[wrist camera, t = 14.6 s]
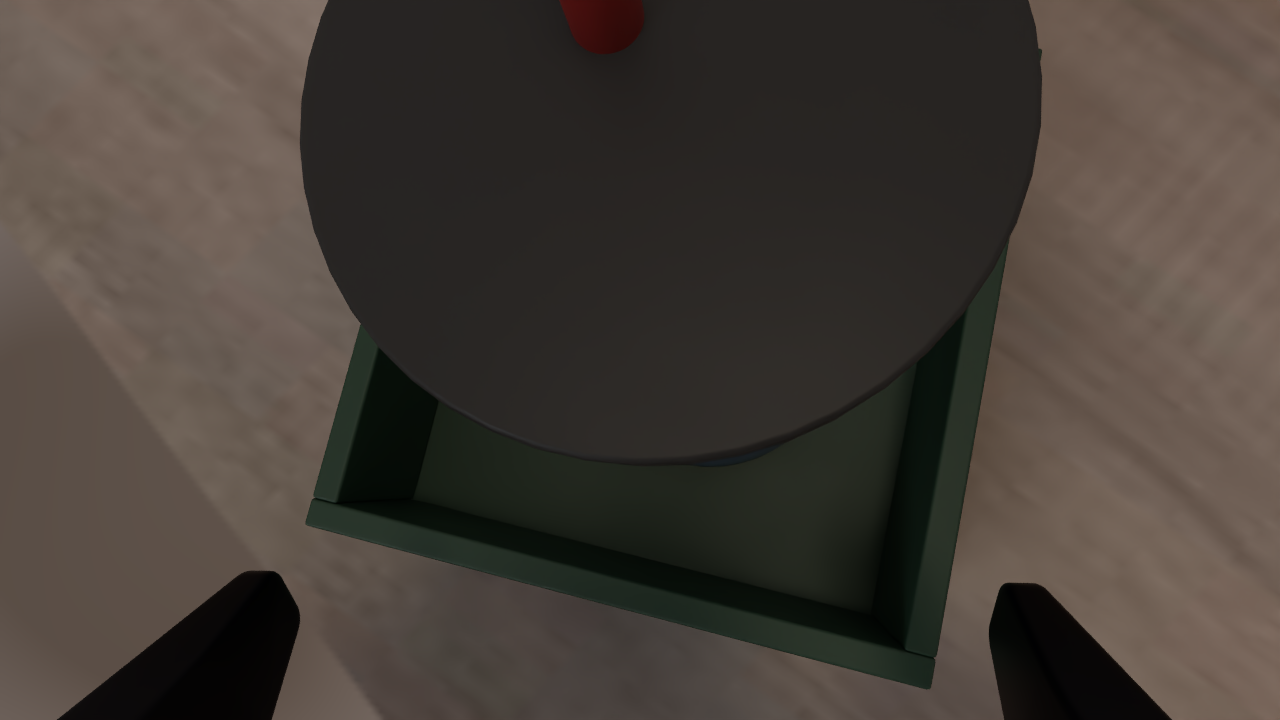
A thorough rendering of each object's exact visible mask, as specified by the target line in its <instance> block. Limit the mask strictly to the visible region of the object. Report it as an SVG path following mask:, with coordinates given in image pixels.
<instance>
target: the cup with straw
mask: <svg viewBox="0 0 1280 720" xmlns="http://www.w3.org/2000/svg"><path fill="white" fill-rule="evenodd" d="M1041 94H1042V74H1041V66H1040V58H1039V50H1038V42H1037V34H1036V26H1035V23H1034V19H1033V15H1032V12H1031V8H1030V5H1029V1H1028V0H328V3H327V5H326V7H325V10H324V12H323V14H322V16H321V19H320V23H319V26H318V29H317V33H316V36H315V39H314V43H313V46H312V49H311V53H310V56H309V60H308V66H307V72H306V78H305V84H304V90H303V96H302V103H301V130H300V150H301V161H302V171H303V182H304V189H305V194H306V198H307V202H308V207H309V211H310V215H311V220H312V224H313V228H314V231H315V234H316V237H317V239H318V242H319V244H320V247H321V250H322V252H323V255H324V258H325V260H326V263H327V265H328V268H329V271H330V273H331V275H332V277H333V278H334V280H335V282H336V284H337V286H338V288H339V289H340V291H341V293H342V295H343V297H344V298H345V300H346V302H347V304H348V306H349V307H350V309H351V311H352V313H353V314H354V315H355V317H356V318H357V319H358V320H359V322H360V323H361V324H362V326H363V327H364V328H365V330H366V331H367V332H368V334H369V335H370V336H371V338H372V339H373V340H374V342H375V343H376V344H377V346H378V347H379V348H380V349H381V350H382V351H383V352H384V353H385V354H386V355H387V356H388V357H389V358H390V359H391V360H392V361H393V362H394V363H395V364H396V365H397V366H398V367H399V368H400V369H401V370H402V371H403V372H404V373H405V374H406V375H407V376H408V377H409V378H410V379H411V380H412V381H413V382H415V383H416V384H417V385H419V386H420V387H421V388H423V389H424V390H425V391H427V392H428V393H429V394H431V395H432V396H433V397H435V398H436V399H437V400H439V401H440V402H441V403H443V404H444V405H445V406H447V407H448V408H449V409H451V410H453V411H455V412H457V413H458V414H460V415H462V416H464V417H466V418H467V419H469V420H471V421H473V422H475V423H477V424H478V425H480V426H482V427H484V428H486V429H487V430H489V431H491V432H494V433H496V434H499V435H501V436H504V437H507V438H509V439H512V440H514V441H517V442H520V443H522V444H525V445H527V446H530V447H533V448H535V449H539V450H543V451H547V452H551V453H556V454H560V455H564V456H568V457H573V458H577V459H581V460H585V461H593V462H603V463H614V464H624V465H634V466H667V465H692V466H702V467H719V466H729V465H735V464H740V463H744V462H747V461H750V460H753V459H756V458H758V457H761V456H763V455H765V454H767V453H769V452H771V451H773V450H775V449H776V448H778V447H779V446H781V445H782V444H784V443H786V442H789V441H791V440H793V439H795V438H797V437H800V436H802V435H804V434H806V433H808V432H810V431H813V430H815V429H817V428H819V427H821V426H823V425H826V424H828V423H830V422H832V421H834V420H836V419H838V418H839V417H841V416H842V415H844V414H845V413H847V412H849V411H850V410H852V409H853V408H855V407H856V406H858V405H860V404H861V403H863V402H864V401H866V400H868V399H869V398H871V397H872V396H874V395H875V394H877V393H879V392H880V391H882V390H883V389H885V388H886V387H888V386H889V385H890V384H891V383H892V382H894V381H895V380H896V379H897V378H898V377H900V376H901V375H902V374H903V373H904V372H905V371H907V370H908V369H909V368H910V367H911V366H913V365H914V364H915V363H916V362H917V361H919V360H920V359H921V358H922V357H923V356H925V355H926V354H927V353H928V352H929V351H930V350H931V349H932V348H933V347H934V345H935V344H936V343H937V342H938V341H939V340H940V339H941V338H942V337H943V336H944V334H945V333H946V332H947V331H948V330H949V329H950V328H951V327H952V326H953V325H954V323H955V322H956V321H957V320H958V319H959V318H960V317H961V316H962V315H963V313H964V312H965V311H966V309H967V308H968V306H969V305H970V303H971V302H972V300H973V299H974V297H975V296H976V295H977V293H978V292H979V290H980V289H981V287H982V286H983V284H984V283H985V281H986V280H987V278H988V277H989V276H990V274H991V273H992V271H993V270H994V268H995V266H996V264H997V262H998V260H999V258H1000V256H1001V253H1002V251H1003V249H1004V247H1005V245H1006V243H1007V241H1008V239H1009V237H1010V235H1011V233H1012V231H1013V229H1014V227H1015V225H1016V223H1017V220H1018V217H1019V214H1020V211H1021V208H1022V205H1023V202H1024V199H1025V196H1026V193H1027V190H1028V186H1029V183H1030V180H1031V177H1032V174H1033V168H1034V162H1035V156H1036V150H1037V145H1038V139H1039V133H1040V127H1041Z"/></svg>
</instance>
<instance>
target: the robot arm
mask: <svg viewBox="0 0 1280 720" xmlns="http://www.w3.org/2000/svg"><path fill="white" fill-rule="evenodd" d="M299 624H300V613H299V609H298V606H297V604H296V603H295V601H294V599H293V597H292V595H291V594H290V592H289V590H288V588H287V586H286V585H285V583H284V581H283V579H282V578H281V576H280V575H279V574H278V573H276V572H274V571H247V572H244V573H242V574H240V575H238V576H237V577H236V578H234V579H233V580H232V581H231V582H229V583H228V584H227V585H226V586H224V587H223V588H222V589H221V590H219V591H218V592H217V593H216V594H214V595H213V596H212V597H210V598H209V599H208V600H207V601H206V602H204V603H203V604H202V605H200V606H199V607H198V608H197V609H196V610H194V611H193V612H192V613H190V614H189V615H188V616H187V617H185V618H184V619H183V620H182V621H180V622H179V623H178V624H177V625H175V626H174V627H173V628H172V629H170V630H169V631H168V632H167V633H165V634H164V635H163V636H162V637H160V638H159V639H158V640H156V641H155V642H154V643H153V644H152V645H150V646H149V647H148V648H146V649H145V650H144V651H143V652H141V653H140V654H139V655H138V656H136V657H135V658H134V659H133V660H131V661H130V662H129V663H128V664H126V665H125V666H124V667H123V668H121V669H120V670H119V671H118V672H116V673H115V674H114V675H113V676H111V677H110V678H109V679H108V680H106V681H105V682H104V683H103V684H101V685H100V686H99V687H98V688H96V689H95V690H94V691H93V692H91V693H90V694H89V695H87V696H86V697H85V698H84V699H83V700H81V701H80V702H79V703H78V704H76V705H75V706H74V707H72V708H71V709H70V710H69V711H68V712H66V713H65V714H64V715H62V716H61V717H60V718H59V719H57V720H272V717H273V713H274V710H275V706H276V703H277V700H278V696H279V693H280V690H281V686H282V683H283V680H284V676H285V673H286V670H287V666H288V663H289V660H290V656H291V653H292V649H293V646H294V643H295V639H296V636H297V632H298V629H299ZM989 642H990V649H991V654H992V659H993V664H994V669H995V674H996V680H997V685H998V690H999V695H1000V700H1001V705H1002V711H1003V716H1004V720H1172V719H1171V718H1170V717H1169V716H1168V715H1167V714H1166V713H1165V712H1164V711H1163V710H1162V709H1161V708H1160V707H1159V706H1158V705H1157V704H1156V703H1155V702H1154V701H1153V700H1152V699H1151V697H1150V696H1149V695H1148V694H1147V693H1146V692H1145V691H1144V690H1143V689H1142V688H1141V687H1140V686H1139V685H1138V684H1137V683H1136V682H1135V681H1134V680H1133V679H1132V678H1131V677H1130V676H1129V675H1128V674H1127V673H1126V672H1125V670H1124V669H1123V668H1122V667H1121V666H1120V665H1119V664H1118V663H1117V662H1116V661H1115V660H1114V659H1113V658H1112V657H1111V656H1110V655H1109V654H1108V653H1107V652H1106V651H1105V650H1104V649H1103V648H1102V647H1101V646H1100V645H1099V643H1098V642H1097V641H1096V640H1095V639H1094V638H1093V637H1092V636H1091V635H1090V634H1089V633H1088V632H1087V631H1086V630H1085V629H1084V628H1083V627H1082V626H1081V625H1080V624H1079V623H1078V622H1077V621H1076V620H1075V619H1074V618H1073V616H1072V615H1071V614H1070V613H1069V612H1068V611H1067V610H1066V609H1065V608H1064V607H1063V606H1062V605H1061V604H1060V603H1059V602H1058V601H1057V600H1056V599H1055V598H1054V597H1053V596H1052V595H1051V594H1050V593H1049V592H1048V591H1047V590H1046V589H1045V588H1044V587H1042V586H1041V585H1039V584H1035V583H1005V584H1003V585H1002V586H1001V588H1000V590H999V593H998V596H997V600H996V603H995V607H994V611H993V614H992V618H991V621H990V626H989Z"/></svg>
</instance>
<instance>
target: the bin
mask: <svg viewBox="0 0 1280 720" xmlns="http://www.w3.org/2000/svg"><path fill="white" fill-rule="evenodd" d="M1038 50H1039V58H1040V60H1041V55H1042V49H1038ZM1009 238H1010V237H1009ZM1008 244H1009V239H1008V241H1007V243H1006V245H1005V247H1004V249H1003V251H1002V253H1001V256H1000V258H999V260H998V262H997V264H996V266H995V268H994V270H993V271H992V273H991V274H990V276H989V277H988V278H987V280H986V281H985V283H984V284H983V286H982V287H981V289H980V290H979V292H978V293H977V295H976V296H975V297H974V299H973V300H972V302H971V303H970V305H969V306H968V308H967V309H966V311H965V312H964V313H963V315H962V316H961V317H960V318H959V319H958V320H957V321H956V322H955V323H954V325H953V326H952V327H951V328H950V329H949V330H948V331H947V332H946V333H945V334H944V336H943V337H942V338H941V339H940V340H939V341H938V342H937V343H936V344H935V345H934V347H933V348H932V349H931V350H930V351H929V352H928V353H927V354H926V355H925V356H923V357H922V358H921V359H920V360H919V361H917V362H916V363H915V364H914V365H913V366H911V367H910V368H909V369H908V370H907V371H905V372H904V373H903V374H902V375H901V376H900V377H898V378H897V379H896V380H895V381H894V382H892V383H891V384H890V385H889V386H888V387H886V388H885V389H883V390H882V391H880V392H879V393H877V394H875V395H874V396H872V397H871V398H869V399H868V400H866V401H864V402H863V403H861V404H860V405H858V406H856V407H855V408H853V409H852V410H850V411H849V412H847V413H845V414H844V415H842V416H841V417H839V418H838V419H836V420H834V421H832V422H830V423H828V424H826V425H823V426H821V427H819V428H817V429H815V430H813V431H810V432H808V433H806V434H804V435H802V436H800V437H797V438H795V439H793V440H791V441H789V442H786V443H784V444H782V445H781V446H779V447H778V448H776V449H775V450H773V451H771V452H769V453H767V454H765V455H763V456H761V457H758V458H756V459H753V460H750V461H747V462H744V463H740V464H735V465H729V466H719V467H702V466H692V465H667V466H634V465H624V464H614V463H603V462H593V461H585V460H581V459H577V458H573V457H568V456H564V455H560V454H556V453H551V452H547V451H543V450H539V449H535V448H533V447H530V446H527V445H525V444H522V443H520V442H517V441H514V440H512V439H509V438H507V437H504V436H501V435H499V434H496V433H494V432H491V431H489V430H487V429H486V428H484V427H482V426H480V425H478V424H477V423H475V422H473V421H471V420H469V419H467V418H466V417H464V416H462V415H460V414H458V413H457V412H455V411H453V410H451V409H449V408H448V407H447V406H445V405H444V404H443V403H441V402H440V401H439V400H437V399H436V398H435V397H433V396H432V395H431V394H429V393H428V392H427V391H425V390H424V389H423V388H421V387H420V386H419V385H417V384H416V383H415V382H413V381H412V380H411V379H410V378H409V377H408V376H407V375H406V374H405V373H404V372H403V371H402V370H401V369H400V368H399V367H398V366H397V365H396V364H395V363H394V362H393V361H392V360H391V359H390V358H389V357H388V356H387V355H386V354H385V353H384V352H383V351H382V350H381V349H380V348H379V347H378V346H377V344H376V343H375V342H374V340H373V339H372V338H371V336H370V335H369V334H368V332H367V331H366V330H365V328H364V327H363V326H362V324H361V325H360V329H359V332H358V336H357V339H356V343H355V347H354V350H353V354H352V357H351V361H350V365H349V368H348V372H347V375H346V379H345V383H344V386H343V390H342V393H341V397H340V401H339V404H338V408H337V411H336V415H335V419H334V422H333V426H332V429H331V433H330V437H329V440H328V444H327V447H326V451H325V455H324V458H323V462H322V466H321V469H320V473H319V476H318V480H317V484H316V487H315V491H314V494H313V495H314V497H315V498H314V499H312V501H311V505H310V508H309V512H308V515H307V519H306V525H308V526H311V527H315V528H319V529H322V530H326V531H330V532H334V533H337V534H341V535H345V536H349V537H353V538H356V539H360V540H364V541H368V542H371V543H375V544H379V545H383V546H387V547H390V548H394V549H398V550H402V551H405V552H409V553H413V554H417V555H421V556H424V557H428V558H432V559H436V560H439V561H443V562H447V563H451V564H454V565H458V566H462V567H466V568H470V569H473V570H477V571H481V572H485V573H488V574H492V575H496V576H500V577H504V578H507V579H511V580H515V581H519V582H522V583H526V584H530V585H534V586H538V587H541V588H545V589H549V590H553V591H556V592H560V593H564V594H568V595H572V596H575V597H579V598H583V599H587V600H590V601H594V602H598V603H602V604H606V605H609V606H613V607H617V608H621V609H624V610H628V611H632V612H636V613H640V614H643V615H647V616H651V617H655V618H658V619H662V620H666V621H670V622H674V623H677V624H681V625H685V626H689V627H692V628H696V629H700V630H704V631H708V632H711V633H715V634H719V635H723V636H726V637H730V638H734V639H738V640H742V641H745V642H749V643H753V644H757V645H760V646H764V647H768V648H772V649H776V650H779V651H783V652H787V653H791V654H794V655H798V656H802V657H806V658H810V659H813V660H817V661H821V662H825V663H828V664H832V665H836V666H840V667H844V668H847V669H851V670H855V671H859V672H862V673H866V674H870V675H874V676H878V677H881V678H885V679H889V680H893V681H896V682H900V683H904V684H908V685H912V686H915V687H919V688H923V689H930V688H931V684H932V679H933V673H934V667H935V659H934V658H933V657H936V655H937V651H938V645H939V639H940V633H941V628H942V622H943V616H944V610H945V605H946V599H947V593H948V588H949V582H950V576H951V570H952V565H953V559H954V553H955V547H956V542H957V536H958V530H959V524H960V519H961V513H962V507H963V502H964V496H965V490H966V484H967V479H968V473H969V467H970V461H971V456H972V450H973V444H974V439H975V433H976V427H977V421H978V416H979V410H980V404H981V398H982V393H983V387H984V381H985V375H986V370H987V364H988V358H989V353H990V347H991V341H992V335H993V330H994V324H995V318H996V312H997V307H998V301H999V295H1000V289H1001V284H1002V278H1003V272H1004V267H1005V261H1006V255H1007V249H1008Z"/></svg>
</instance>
